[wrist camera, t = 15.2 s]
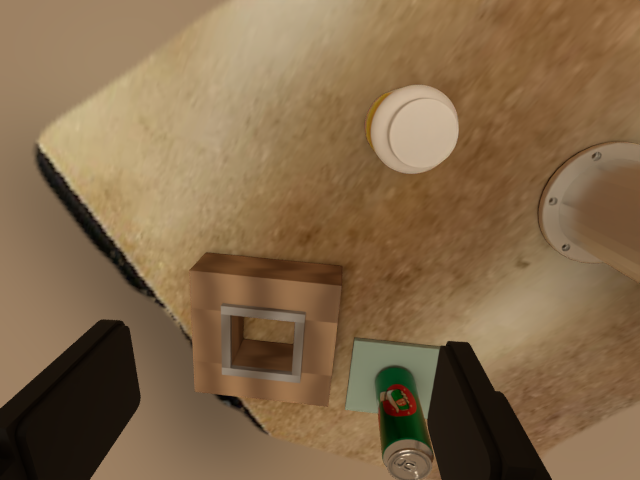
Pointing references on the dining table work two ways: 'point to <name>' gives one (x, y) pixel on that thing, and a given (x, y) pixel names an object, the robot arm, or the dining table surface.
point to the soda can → (402, 426)
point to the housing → (267, 303)
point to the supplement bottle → (412, 128)
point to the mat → (381, 356)
